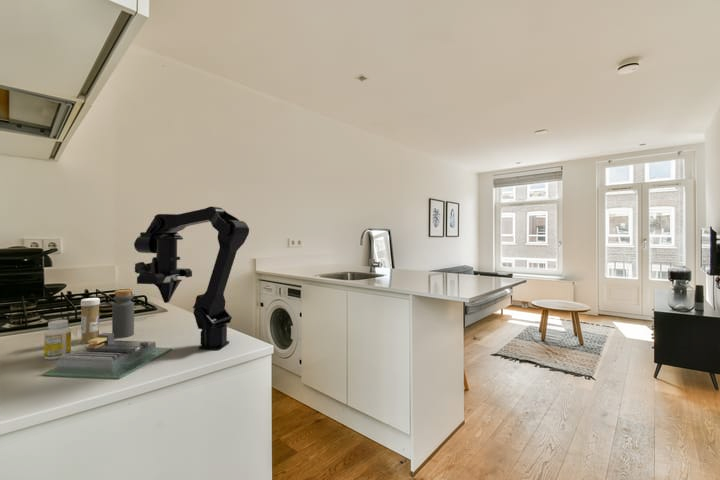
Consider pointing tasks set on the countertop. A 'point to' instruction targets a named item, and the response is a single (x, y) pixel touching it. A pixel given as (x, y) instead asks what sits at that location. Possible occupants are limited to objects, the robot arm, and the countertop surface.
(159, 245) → the robot arm
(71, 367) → the heatsink
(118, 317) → the bottle
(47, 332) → the supplement bottle
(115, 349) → the grey and orange bar
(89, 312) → the sprinkles bottle
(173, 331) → the countertop surface
